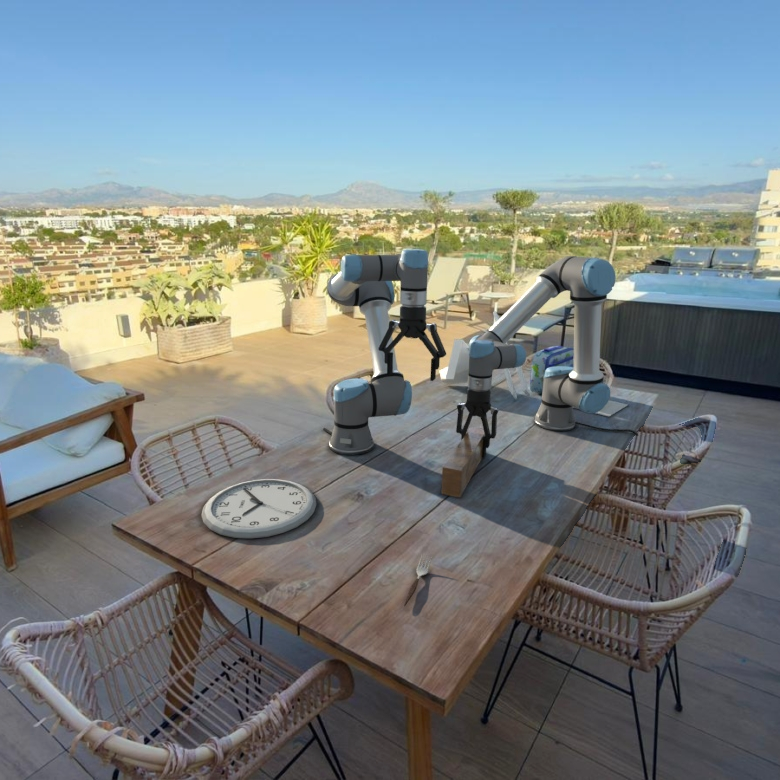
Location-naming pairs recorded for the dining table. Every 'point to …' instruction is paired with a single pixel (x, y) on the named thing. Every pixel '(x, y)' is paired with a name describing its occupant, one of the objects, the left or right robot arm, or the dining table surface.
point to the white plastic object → (460, 367)
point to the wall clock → (258, 508)
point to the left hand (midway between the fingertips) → (411, 377)
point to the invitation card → (611, 408)
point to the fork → (420, 572)
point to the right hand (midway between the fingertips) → (474, 454)
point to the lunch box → (548, 364)
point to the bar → (462, 463)
